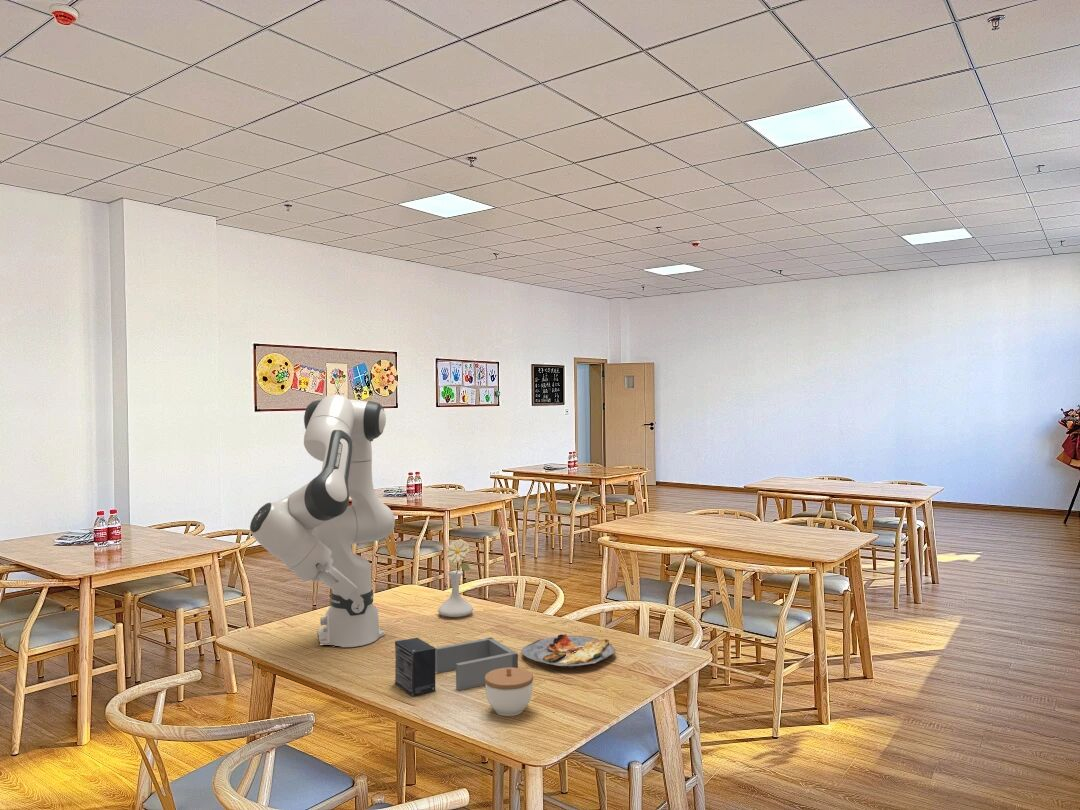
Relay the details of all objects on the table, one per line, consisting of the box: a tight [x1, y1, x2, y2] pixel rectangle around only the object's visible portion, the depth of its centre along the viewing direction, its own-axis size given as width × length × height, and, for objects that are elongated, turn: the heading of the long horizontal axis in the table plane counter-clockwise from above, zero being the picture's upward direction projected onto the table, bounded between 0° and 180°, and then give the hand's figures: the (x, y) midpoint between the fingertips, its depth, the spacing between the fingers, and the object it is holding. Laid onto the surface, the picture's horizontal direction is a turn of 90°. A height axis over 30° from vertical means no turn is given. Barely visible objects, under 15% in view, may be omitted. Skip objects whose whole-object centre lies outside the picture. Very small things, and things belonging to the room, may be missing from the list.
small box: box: [394, 637, 436, 697], centre depth 179 cm, size 11×6×10 cm, turn 34°
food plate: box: [520, 633, 616, 669], centre depth 200 cm, size 25×23×4 cm
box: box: [435, 637, 519, 691], centre depth 187 cm, size 15×16×6 cm
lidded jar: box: [484, 667, 534, 717], centre depth 165 cm, size 11×11×9 cm
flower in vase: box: [437, 538, 474, 618], centre depth 240 cm, size 13×11×25 cm
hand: (355, 598), depth 172 cm, fingers open, 7 cm apart
